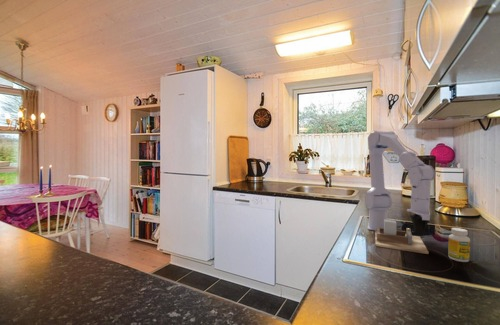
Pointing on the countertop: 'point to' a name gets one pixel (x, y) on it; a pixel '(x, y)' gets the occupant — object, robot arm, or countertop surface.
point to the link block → (390, 227)
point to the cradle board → (399, 241)
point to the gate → (409, 235)
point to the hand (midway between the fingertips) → (418, 235)
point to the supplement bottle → (459, 245)
